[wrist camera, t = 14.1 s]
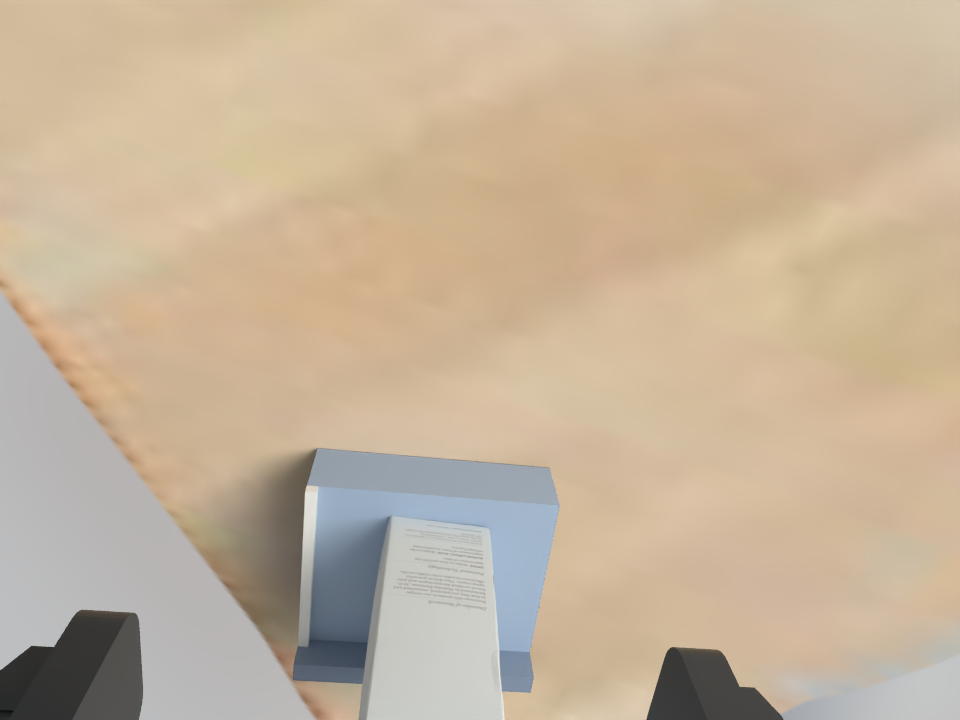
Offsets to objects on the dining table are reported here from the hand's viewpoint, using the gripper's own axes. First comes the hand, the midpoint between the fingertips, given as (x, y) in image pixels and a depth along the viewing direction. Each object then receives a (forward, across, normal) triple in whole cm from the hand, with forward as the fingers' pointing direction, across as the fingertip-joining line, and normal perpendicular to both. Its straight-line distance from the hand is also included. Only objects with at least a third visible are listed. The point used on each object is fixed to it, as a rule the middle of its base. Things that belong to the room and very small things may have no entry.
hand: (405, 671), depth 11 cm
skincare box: (+26, -2, +19) cm, 33 cm away
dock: (+30, -2, +20) cm, 36 cm away
